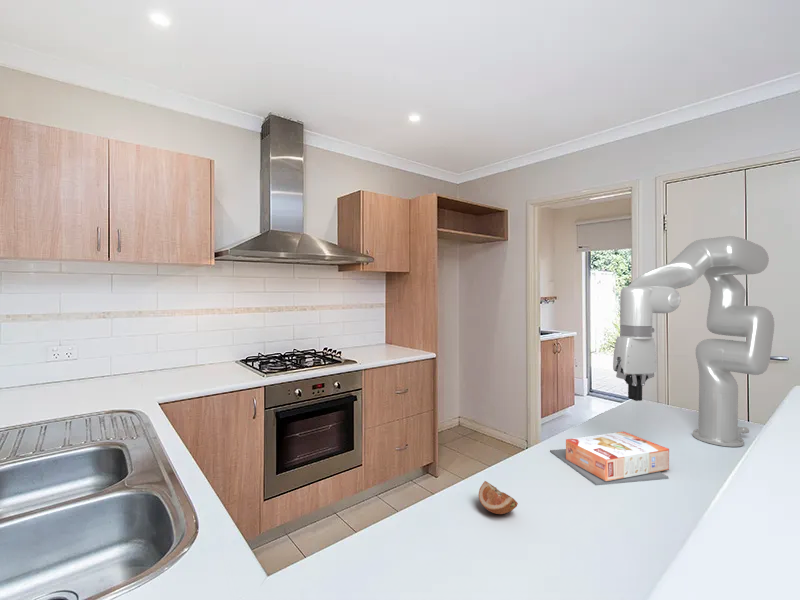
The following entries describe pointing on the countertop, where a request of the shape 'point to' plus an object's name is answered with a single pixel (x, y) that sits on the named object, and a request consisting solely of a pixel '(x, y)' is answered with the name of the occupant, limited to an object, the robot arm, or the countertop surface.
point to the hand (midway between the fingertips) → (635, 399)
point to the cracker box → (617, 455)
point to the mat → (598, 481)
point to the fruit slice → (495, 499)
